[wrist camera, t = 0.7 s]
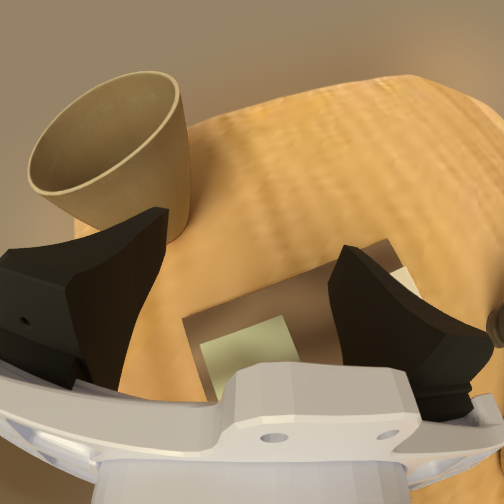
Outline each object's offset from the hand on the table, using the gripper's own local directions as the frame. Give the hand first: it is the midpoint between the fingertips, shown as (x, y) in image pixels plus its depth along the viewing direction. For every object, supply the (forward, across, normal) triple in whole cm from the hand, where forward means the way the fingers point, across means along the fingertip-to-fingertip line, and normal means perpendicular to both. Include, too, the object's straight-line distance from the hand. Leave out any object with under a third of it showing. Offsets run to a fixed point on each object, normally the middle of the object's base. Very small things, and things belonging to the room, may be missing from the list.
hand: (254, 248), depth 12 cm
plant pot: (+21, +9, +11) cm, 26 cm away
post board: (+8, -9, +14) cm, 18 cm away
